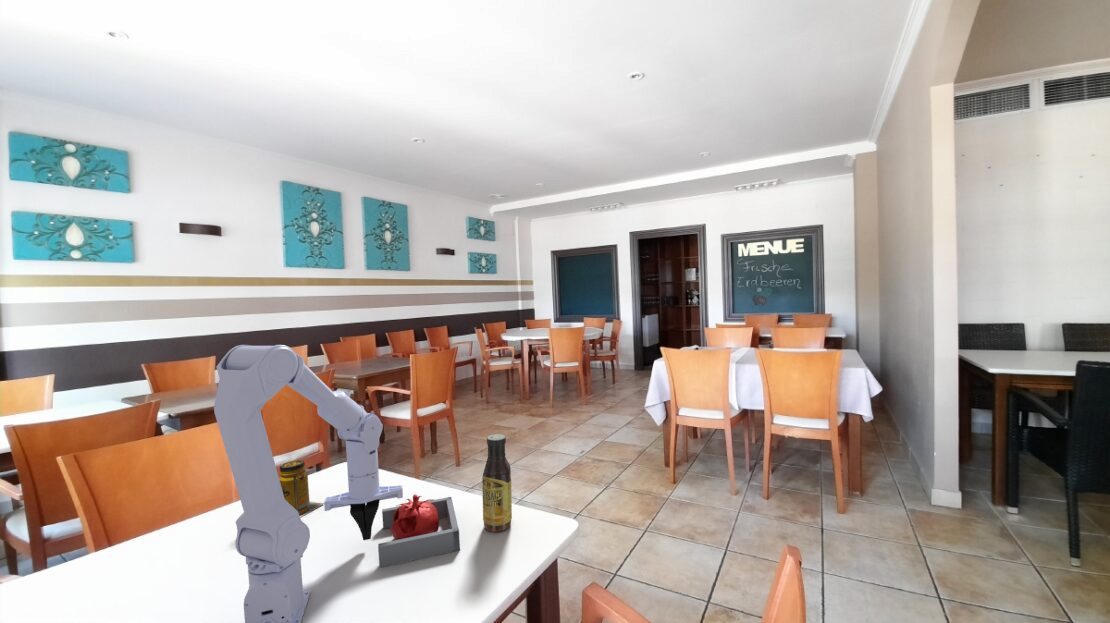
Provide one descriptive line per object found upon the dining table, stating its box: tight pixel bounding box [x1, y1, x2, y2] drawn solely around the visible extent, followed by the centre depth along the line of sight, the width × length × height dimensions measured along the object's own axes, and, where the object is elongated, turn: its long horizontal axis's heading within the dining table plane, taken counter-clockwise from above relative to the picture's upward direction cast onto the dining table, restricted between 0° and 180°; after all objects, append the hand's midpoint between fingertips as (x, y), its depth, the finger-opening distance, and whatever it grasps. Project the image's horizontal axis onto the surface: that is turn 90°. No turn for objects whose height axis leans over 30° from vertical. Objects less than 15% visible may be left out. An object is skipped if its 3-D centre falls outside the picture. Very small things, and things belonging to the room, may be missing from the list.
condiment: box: [279, 459, 324, 518], centre depth 109 cm, size 7×8×12 cm
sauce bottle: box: [481, 433, 513, 533], centre depth 97 cm, size 6×6×20 cm
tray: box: [377, 496, 461, 569], centre depth 94 cm, size 16×15×4 cm
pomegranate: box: [390, 494, 440, 541], centre depth 94 cm, size 10×10×9 cm
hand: (367, 537), depth 91 cm, fingers closed
